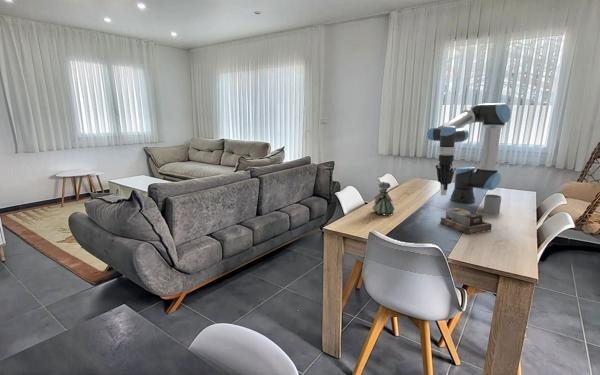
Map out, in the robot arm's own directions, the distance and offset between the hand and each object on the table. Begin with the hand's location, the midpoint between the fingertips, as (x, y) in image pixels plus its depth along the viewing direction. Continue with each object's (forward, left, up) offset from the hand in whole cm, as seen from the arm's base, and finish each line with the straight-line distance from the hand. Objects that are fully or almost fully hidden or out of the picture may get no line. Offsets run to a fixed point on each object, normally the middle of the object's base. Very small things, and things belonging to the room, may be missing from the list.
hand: (443, 195), depth 183 cm
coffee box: (+7, 0, -9) cm, 12 cm away
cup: (+3, +34, -14) cm, 37 cm away
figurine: (-20, -28, -14) cm, 36 cm away
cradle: (+17, -1, -13) cm, 22 cm away
